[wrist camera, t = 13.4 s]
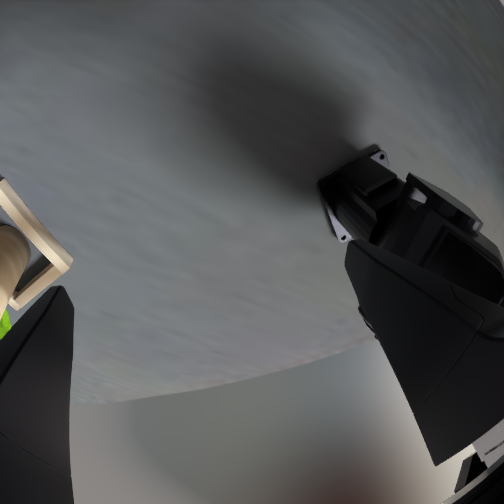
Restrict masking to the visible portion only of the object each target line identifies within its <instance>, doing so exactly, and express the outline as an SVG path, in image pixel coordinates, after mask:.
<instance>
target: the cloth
mask: <svg viewBox="0 0 504 504" xmlns="http://www.w3.org/2000/svg"><path fill="white" fill-rule="evenodd" d="M10 329H11V324H10V320H9V315H8V313H7V310H6V308H5V311H4V313H3V315H2V318H1V320H0V340H1V339H2V338H3V336H4V335H5V334H6V333H7V332H8V331H9V330H10Z"/></svg>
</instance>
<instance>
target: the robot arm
mask: <svg viewBox="0 0 504 504" xmlns="http://www.w3.org/2000/svg"><path fill="white" fill-rule="evenodd" d="M381 154H382V156H381V158H380V155H381ZM406 180H407V181H406V183H405V182H404V181H402V180H401V179H399V178H398V177H397V175H396V174H395V173H394V172H392V171H391V170H390V166H389V162H388V157H387V154H386V152H385V151H383V150H377V151H375V152H373V153H371V154H369V155H367V156H366V155H364V156H362V157H360V158H358V159H357V160H355V161H353V162H351V163H349V164H347V165H345V166H343V167H341V168H340V169H339V170H338V171H336V172H334V173H332V174H330V175H328V176H327V177H325V178H323V179H321V180H320V181H319V182H318V183H317V188H318V191H319V193H320V196H321V198H322V201H323V203H324V206H325V208H326V211H327V213H328V216H329V219H330V221H331V224H332V227H333V229H334V232H335V235H336V237H337V239H338V240H339V242H341V243H343V242H346V241H348V240H349V239H351V238H353V239H354V240H351V241H349V243H348V246H347V251H346V257H345V268H346V271H347V273H348V276H349V278H350V281H351V283H352V285H353V288H354V290H355V293H356V295H357V298H358V302H359V307H358V310H359V313H360V314H361V316H362V317H363V319H364V321H365V323H366V325H367V326H368V327H369V328H370V329H371V331H373V332H374V333H375V338H376V339H377V340H379V342H380V344H381V346H382V348H383V350H384V352H385V354H386V356H387V358H388V360H389V362H390V364H391V366H392V368H393V371H394V373H395V375H396V377H397V379H398V381H399V383H400V385H401V388H402V390H403V392H404V394H405V396H406V399H407V401H408V403H409V405H410V407H411V410H412V412H413V413H414V417H415V419H416V421H417V424H418V426H419V429H420V431H421V433H422V436H423V438H424V441H425V443H426V446H427V448H428V451H429V453H430V455H431V458H432V461H433V463H434V465H435V466H438V465H439V464H441V463H443V462H444V461H446V460H447V459H449V458H450V457H452V456H454V455H455V454H457V453H458V452H460V451H461V450H463V449H464V448H466V447H467V446H469V445H470V444H473V446H474V448H475V450H476V451H475V452H474V453H473V454H472V455H470V456H469V457H468V458H466V459H465V460H463V463H462V467H461V471H460V474H459V477H458V481H457V484H456V487H455V490H454V492H455V494H454V495H453V496H451V497H450V498H448V499H447V500H445V501H444V502H442V503H441V504H504V262H503V259H502V256H501V254H500V251H499V249H498V247H497V246H496V245H495V244H494V243H492V242H491V241H490V240H489V239H488V238H486V237H485V236H484V235H483V234H481V233H480V230H481V228H482V226H483V223H482V221H481V220H480V219H479V218H478V217H477V216H476V215H475V214H474V213H473V212H472V211H471V209H470V208H469V207H467V206H466V205H465V204H463V203H462V202H460V201H459V200H457V199H456V198H455V197H453V196H452V195H450V194H449V193H447V192H446V191H444V190H442V189H440V188H438V187H436V186H435V185H433V184H431V183H429V182H427V181H425V180H423V179H421V178H419V177H417V176H415V175H413V174H411V173H408V175H407V177H406ZM323 184H326V186H325V187H324V188H322V186H323ZM342 236H344V237H342ZM341 237H342V238H341ZM73 331H74V307H73V304H72V302H71V300H70V298H69V296H68V294H67V292H66V290H65V288H64V287H63V286H61V285H59V286H52V287H50V288H49V289H48V290H47V291H46V292H45V293H44V294H43V295H42V296H41V297H40V298H39V299H38V300H37V301H36V302H35V303H34V304H33V305H32V306H31V307H30V308H29V309H28V310H27V311H26V312H25V313H24V315H23V316H22V317H21V318H20V319H19V320H18V321H17V322H16V323H15V324H14V325H13V326H12V327H11V329H10V330H9V331H8V332H7V333H6V334H5V335H4V336H3V338H2V339H1V340H0V504H74V498H73V490H72V479H71V468H70V448H69V407H70V386H71V372H72V361H73Z"/></svg>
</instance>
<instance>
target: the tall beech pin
mask: <svg viewBox="0 0 504 504" xmlns="http://www.w3.org/2000/svg"><path fill="white" fill-rule="evenodd" d="M30 256H31V252H30V247H29V244H28V242H27V240H26V238H25V237H24V236H23V234H22V233H21V232H20V231H18V230H17V229H16V228H14V227H12V226H8V225H1V226H0V320H1V318H2V315H3V313H4V311H5V308H6V306H7V304H8V302H9V300H10V298H11V295H12V293H13V291H14V289H15V287H16V285H17V283H18V281H19V279H20V277H21V275H22V274H23V272H24V270H25V268H26V266H27V264H28V262H29V260H30Z"/></svg>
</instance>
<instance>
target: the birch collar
mask: <svg viewBox="0 0 504 504" xmlns="http://www.w3.org/2000/svg"><path fill="white" fill-rule="evenodd" d="M0 205H1V206H2V207H3V209H4V210H5V211H6V212H7V214H8V215H9V216H10V217H11V218H12V220H13V221H14V222H15V223H16V224H17V225H18V227H19V228H20V229H21V230H22V231H23V232H24V234H25V235H26V236H27V237H28V238H29V239H30V240H31V241H32V242H33V244H34V245H35V246H36V247H37V248H38V249H39V250H40V251H41V252H42V253H43V254H44V255H45V256H46V257H47V259H48V260H49V261H50V262H51V263H50V264H49V265H48V266H47V267H46V268H45V269H43V270H42V271H41V272H40V273H39V274H38V275H36V276H35V277H34V278H33V279H32V280H31V281H30V282H29V283H27V284H26V285H25V286H24V287H23V288H22V289H21V290H20V291H19V292H18V291H17V290H16V289H14V291H13V293H12V295H11V298H10V300H9V302H8V303H9V304H10V305H11V306H12V307H13V308H14V309H15V310H16V311H18V310H19V309H20V308H21V307H23V306H24V305H25V304H26V303H27V302H29V301H30V300H31V299H32V298H33V297H35V296H36V295H37V294H38V293H39V292H41V291H42V290H43V289H44V288H46V287H47V286H48V285H49V284H51V283H52V282H53V281H54V280H56V279H57V278H58V277H59V276H61V275H62V274H63V273H65V272H66V271H67V270H68V269H70V267H71V265H72V262H73V260H74V259H73V258H72V257H71V256H70V255H69V254H68V253H67V252H66V251H65V250H64V249H63V247H62V246H61V245H60V244H59V243H58V242H57V241H56V240H55V239H54V238H53V237H52V235H51V234H50V233H49V232H48V231H47V230H46V229H45V228H44V226H43V225H42V224H41V223H40V222H39V221H38V219H37V218H36V217H35V216H34V215H33V214H32V212H31V211H30V210H29V209H28V208H27V206H26V205H25V204H24V203H23V201H22V200H21V199H20V198H19V196H18V195H17V194H16V193H15V191H14V190H13V189H12V187H11V186H10V185H9V183H8V182H7V181H6V179H5V178H4V179H3V180H2V181H1V182H0Z"/></svg>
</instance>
